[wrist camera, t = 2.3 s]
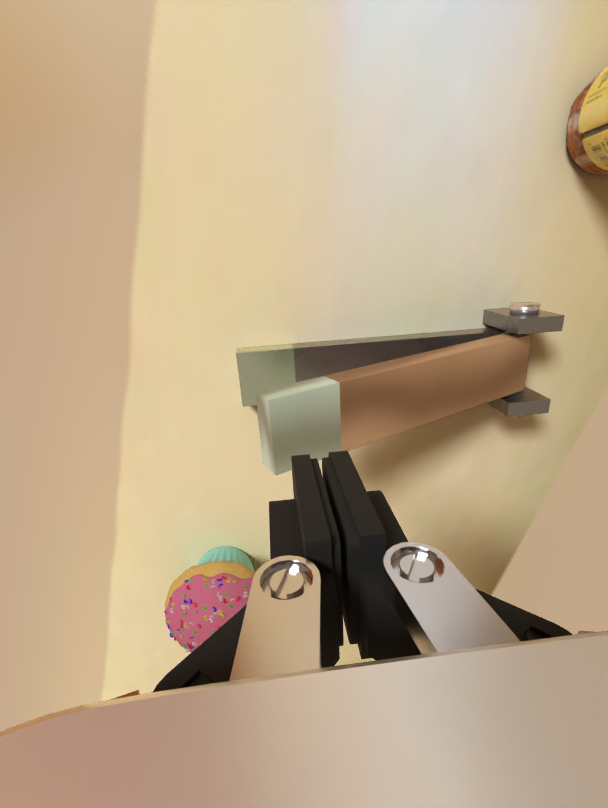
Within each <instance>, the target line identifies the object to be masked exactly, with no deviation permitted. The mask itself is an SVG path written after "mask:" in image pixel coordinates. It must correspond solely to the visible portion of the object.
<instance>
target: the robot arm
mask: <svg viewBox="0 0 608 808" xmlns="http://www.w3.org/2000/svg"><path fill="white" fill-rule="evenodd" d="M291 462H292V476H293V490H294V499H291V500H281V501H271V502H269V519H270V552H271V560H269V561H267V562H266V563H264V564H263V565H262V566H261V567H260V568H259V569H258V570H257V571H256V573H255V575H254V577H253V581H252V585H251V589H250V594H249V598H248V602H247V604H246V605H245V606H244V607H243V608H242V609H241V610H239V611H238V612H237V613H236V614H235V615H234V616H233V617H232V618H230V619H229V620H228V621H227V622H226V623H225V624H224V625H222V626H221V627H220V628H219V629H218V630H217V631H216V632H214V633H213V634H212V635H211V636H210V637H209V638H208V639H206V640H205V641H204V642H203V643H202V644H201V645H200V646H199V647H197V648H196V649H195V650H194V651H193V652H192V653H191V654H189V655H188V656H187V657H186V658H185V659H184V660H183V661H181V662H180V663H179V664H178V665H177V666H176V667H175V668H173V669H172V670H171V671H170V672H169V673H168V674H167V675H166V676H165V677H164V678H163V679H162V680H161V681H160V682H159V683H158V685H157V686H156V688H155V689H154V691H153V692H151V693H146V694H141V695H140V693H139V690H137V691H134V692H131V693H128V694H125V695H122V696H119V697H117V698H114V699H111V700H107V701H102V702H97V703H92V704H86V705H81V706H77V707H73V708H70V709H66V710H62V711H59V712H55V713H51V714H48V715H44V716H41V717H39V718H36V719H33V720H30V721H28V722H25V723H22V724H19V725H16V726H14V727H11V728H8V729H6V730H4V731H1V732H0V808H608V631H603V632H590V631H579V632H578V634H576V635H572V634H571V633H570V632H569V631H567V630H565V629H564V628H562V627H560V626H558V625H557V624H555V623H552V622H550V621H548V620H546V619H543V618H541V617H539V616H536V615H534V614H532V613H530V612H527V611H525V610H523V609H520V608H518V607H516V606H514V605H511V604H509V603H507V602H504V601H502V600H500V599H497V598H495V597H493V596H491V595H488V594H486V593H484V592H481V591H479V590H477V589H475V588H474V587H473V586H472V585H471V584H470V583H469V581H468V580H467V579H466V578H465V577H464V576H463V575H462V573H461V572H460V571H459V570H458V569H457V568H456V567H455V565H454V564H453V563H452V562H451V561H450V560H449V558H448V557H447V556H446V555H445V554H443V553H442V552H441V551H440V550H438V549H436V548H434V547H433V546H431V545H427V544H424V543H419V542H408V540H407V538H406V537H405V535H404V533H403V531H402V529H401V527H400V525H399V523H398V521H397V520H396V518H395V516H394V514H393V512H392V510H391V508H390V506H389V505H388V503H387V501H386V499H385V497H384V495H383V493H382V492H381V491H369V492H366V490H365V487H364V485H363V483H362V481H361V479H360V477H359V474H358V472H357V470H356V468H355V466H354V464H353V461H352V459H351V457H350V455H349V453H348V451H337V452H329V454H328V457H324V458H322V471H323V477H322V474H321V470H320V467H319V463H318V460H317V458H314V459H311V458H310V455H309V454H305V455H294V456H291ZM343 618H344V622H345V626H346V631H347V635H348V639H349V643H350V644H357V643H358V647H359V651H360V655H361V659H367V658H373V659H375V660H376V661H370V662H362V663H355V664H348V665H340V666H334V665H335V664H336V663H337V662H338V660H339V659H340V657H339V646H342V645H343Z"/></svg>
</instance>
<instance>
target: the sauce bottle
mask: <svg viewBox="0 0 608 808" xmlns="http://www.w3.org/2000/svg"><path fill="white" fill-rule="evenodd" d="M567 148H568V150H569V153H570V155H571V158H572V159H573V160H574V162H575V163H577V164H578V165H579V167H580V168H581V169H583V170H585V171H586V172H588V173H591V174H608V67H607V68H605V69H604V70H603V71H602V72H601V73H600V74H599V75H598V76H597V77H595V78H594V79H593V81H591V82H590V83H589V84H588V85H587V86H586V87H585V88H584V90H583V91H582V92H581V93H580V95H579V96H578V97H577V98H576V100H575V101H574V103H573V105H572V107H571V112H570V115H569V119H568V128H567Z"/></svg>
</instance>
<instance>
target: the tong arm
mask: <svg viewBox="0 0 608 808" xmlns="http://www.w3.org/2000/svg"><path fill="white" fill-rule="evenodd" d="M531 336H532V335H531V334H515V333H512V332H508V333H504V334H500V335H496V336H491V337H487V338H483V339H479V340H474V341H470V342H466V343H462V344H457V345H453V346H449V347H445V348H440V349H436V350H432V351H427V352H423V353H419V354H415V355H410V356H406V357H402V358H398V359H393V360H389V361H385V362H381V363H376V364H372V365H368V366H364V367H359V368H355V369H351V370H347V371H342V372H338V373H334V374H330V375H325V376H321V377H317V378H313V379H308V380H304V381H300V382H296V383H291V384H287V385H283V386H279V387H274V388H270V389H266V390H262V391H257V392H255V395H256V404H257V412H258V421H259V430H260V439H261V448H262V457H263V464H264V465H265V466H267V467H268V468H269V469H270V470H271V471H272V472H273V473H274V474H275V475H278V474H281V473H284V472H287V471H290V470H292V462H291V456H294V455H305V454H309V455H310V458H311V459H314V458H317V460H318V461H319V460H322V458H324V457H328V454H329V452H337V451H348V450H351V449H354V448H357V447H359V446H362V445H365V444H368V443H371V442H374V441H377V440H380V439H383V438H386V437H388V436H391V435H394V434H397V433H400V432H403V431H406V430H409V429H412V428H415V427H417V426H420V425H423V424H426V423H429V422H432V421H435V420H438V419H441V418H443V417H446V416H449V415H452V414H455V413H458V412H461V411H464V410H467V409H470V408H472V407H475V406H478V405H481V404H484V403H487V402H490V401H493V400H496V399H499V398H501V397H504V396H507V395H510V394H513V393H516V392H519V391H522V390H524V386H525V379H526V372H527V365H528V358H529V350H530V343H531Z"/></svg>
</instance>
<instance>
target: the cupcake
mask: <svg viewBox="0 0 608 808" xmlns="http://www.w3.org/2000/svg"><path fill="white" fill-rule="evenodd" d="M254 575H255V570H254V568H253V565H252V562H251V560H250V558H249V557H248V555H247V554H245V553H244V552H243V551H241V550H239V549H237V548H233V547H219V548H215V549H213V550H211V551H209V552H208V553H206V554H205V555H204V556H203V557H202V559H201V560H200V562H199V563H198V565H197V566H194V567H191V568H189V569H188V570H186V571H185V572H184V573H183V574H182V575H181V576H180V577H178V578H177V579H176V580H175V581H174V582H173V583H172V585H171V587H170V589H169V592H168V596H167V599H166V603H165V611H164V612H165V613H166V620H165V621H166V622H167V623H166V624H167V626H168V628H169V630H170V632H171V633H170V637H174V640H175V641H176V640H177V641H178V642H179V644H180V645H181V647H183V648H184V649H185V648H186V651H187V649H188V651H187V652H193V651H194V650H195V649H196V648H197V647H199V646H200V645H201V644H202V643H203V642H204V641H205V640H206V639H208V638H209V637H210V636H211V635H212V634H213V633H214V632H216V631H217V630H218V629H219V628H220V627H221V626H222V625H224V624H225V623H226V622H227V621H228V620H229V619H230V618H232V617H233V616H234V615H235V614H236V613H237V612H238V611H239V610H241V609H242V608H243V607H244V606H245V605H246V604H247V602H248V598H249V594H250V589H251V585H252V581H253V577H254ZM171 634H172V636H171Z"/></svg>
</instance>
